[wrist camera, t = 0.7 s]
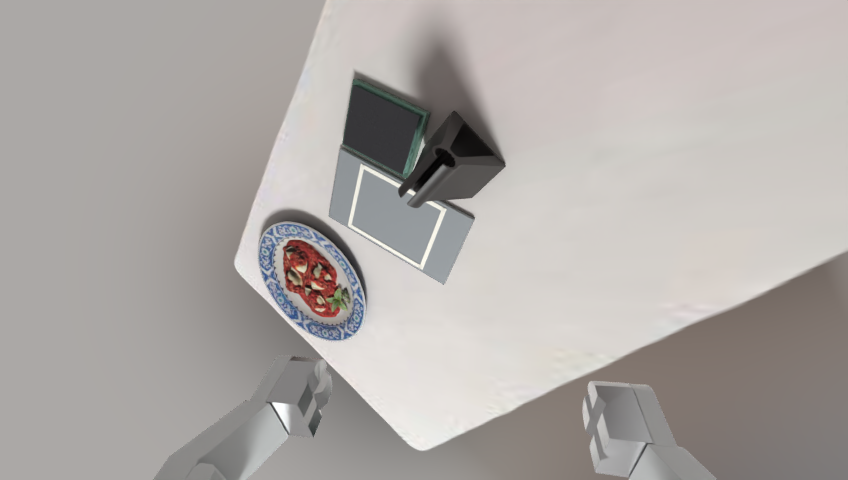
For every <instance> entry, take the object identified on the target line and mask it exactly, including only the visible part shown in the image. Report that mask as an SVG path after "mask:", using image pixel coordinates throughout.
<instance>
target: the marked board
mask: <svg viewBox="0 0 848 480" xmlns="http://www.w3.org/2000/svg"><path fill="white" fill-rule="evenodd" d="M403 182H404V181H403V180H402V179H400V178H398V177H396V176H394V175H392V174H390V173H388V172H387V171H385V170H383V169H381V168H379V167H377V166H375V165H373V164H371V163H370V162H368V161H366V160H364V159H362V158H360V157H358V156H356V155H355V154H353V153H351V152H349V151H347V150H345V149H343V148H342V149H340V153H339V159H338V165H337V171H336V177H335V183H334V188H333V194H332V200H331V206H330V212H329V217H331V218H332V219H334V220H336V221H337V222H339V223H341V224H342V225H344V226H346V227H347V228H349V229H351V230H352V231H354V232H356V233H357V234H359V235H361V236H363V237H364V238H366V239H368V240H369V241H371V242H373V243H374V244H376V245H378V246H379V247H381V248H383V249H384V250H386V251H388V252H389V253H391V254H393V255H394V256H396V257H398V258H400V259H401V260H403V261H405V262H406V263H408V264H410V265H411V266H413V267H415V268H416V269H418V270H420V271H421V272H423V273H425V274H426V275H428V276H430V277H431V278H433V279H435V280H437V281H438V282H440V283H442V284H443V285H444V284H445V282H446V280H447V278H448V276H449V274H450V272H451V269H452V267H453V265H454V263H455V261H456V259H457V256H458V254H459V252H460V250H461V248H462V246H463V243H464V241H465V239H466V237H467V235H468V233H469V230H470V228H471V226H472V224H473V222H474V219H475V218H473V217H471V216H469V215H467V214H466V213H464V212H462V211H460V210H458V209H456V208H454V207H452V206H451V205H449V204H447V203H445V202H443V201H441V200H440V201H428V202H425V203H423V204H422V206H421V207H419V208H413V207H410V206H408V205H407V203H408V201H409V200H410V199H411V198H412V197H413V196H414V195H415V194H416V193H417V192H414V190H413V189H409V190H408V191H407V193H406V194H405V195H404V196H403V197H402V198H400V196H399V193H398V189H399V187H400V186H401V185H402V183H403Z"/></svg>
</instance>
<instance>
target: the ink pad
mask: <svg viewBox="0 0 848 480" xmlns="http://www.w3.org/2000/svg"><path fill="white" fill-rule="evenodd" d="M429 115H430V112H428V111H426V110H424V109H421V108H419V107H417V106H415V105H413V104H411V103H409V102H407V101H404V100H402V99H400V98H398V97H396V96H394V95H392V94H389V93H387V92H385V91H383V90H381V89H379V88H377V87H375V86H372V85H370V84H368V83H366V82H364V81H362V80H360V79H354V80H353V85H352V91H351V97H350V103H349V109H348V114H347V120H346V126H345V132H344V138H343V143H342V145H344V146H346V147H348V148H350V149H352V150H353V151H355V152H357V153H359V154H361V155H363V156H365V157H367V158H369V159H370V160H372V161H374V162H376V163H378V164H380V165H382V166H384V167H386V168H387V169H389V170H391V171H393V172H395V173H397V174H399V175H401V176H403V177H404V178H406V179H407V178H408V176H409V175H410V174H411V173H412V170H413V167H414V164H415V160H416V157H417V154H418V151H419V147H420V144H421V141H422V138H423V134H424V131H425V128H426V125H427V121H428V118H429Z"/></svg>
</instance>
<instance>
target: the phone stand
mask: <svg viewBox="0 0 848 480" xmlns="http://www.w3.org/2000/svg"><path fill="white" fill-rule="evenodd" d="M504 167H505V164H504V163H503V162H502V161H501V160H500V159H499V157H498V156H497V155H496V154H495V153H494V152H493V151H492V150H491V149H490V148H489V147H488V146H487V145H486V144H485V143H484V141H483V140H482V139H480V138H479V136H478V135H477V134H476V133H475V132H474V131H473V130H472V129H471V128H470V127H469V125H468V124H467V123H466V122H465V121H464V120H463V119H462V118H461V117H460V116H459V115H458V114H457V113H456V112H455V111H453V112H452V113H451V115H450V116H449V117H448V118H447V120H446V121H445V122H444V123H443V124H442V126H441V127H440V128H439V129H438V131H437V132H436V133H435V134H434V135H433V137H432V138H431V139H430V140H429V142H428V143H427V144H426V145H425V146H424V148H423V150H422V153H421V155H420V157H419V160H418V162H417V164H416V166H415V169H414V170H413V172H412V173H411V174H410V175H409V176H408V178H407V179H406V180H405V181H404V182H403V183H402V185H401V186H400V187H399V189H398V193H399V196H400V198H402V197H403V196H404V195H405V194H406V193H407V191H408V190H409V189H413V190H414V192H417V193H416V194H415V195H414V196H413V197H412V198H411V199H410V200H409V201H408V203H407V205H408V206H410V207H413V208H419V207H421V206H422V204H423V203H425V202H428V201H440V200H452V199H465V198H472V197H473V196H474V195H475V194H477V193H478V192H479V191H480V190H481V189H482V188H483V187H484V186H485V185H486V184H487V183H488V182H489V181H490V180H492V179H493V178H494V177H495V176H496V175H497V174H498V173H499V172H500V171H501V170H502V169H503V168H504Z"/></svg>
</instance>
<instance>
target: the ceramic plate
mask: <svg viewBox="0 0 848 480" xmlns="http://www.w3.org/2000/svg"><path fill="white" fill-rule="evenodd" d="M258 262H259V268H260V272H261V275H262V278H263V281H264V283H265V285H266V287H267V289H268V291H269V293H270V295H271V297H272V298H273V300H274V301H275V302H276V304H277V305H278V307H279V308H280V309H281V310H282V311H283V312H284V314H285V315H286V316H287V317H288V318H289V319H290V320H291V321H293V322H294V323H295V324H296V325H297V326H298V327H300V328H301V329H303V330H304V331H306V332H307V333H309V334H311V335H313V336H315V337H317V338H319V339H323V340H326V341H331V342H342V341H346V340H349V339H351V338H353V337H354V336H355V335H357V334H358V332H359V331H360V330H361V328H362V326H363V324H364V321H365V316H366V302H365V296H364V292H363V288H362V286H361V283H360V280H359V278H358V276H357V274H356V272H355V270H354V269H353V267H352V265H351V264H350V262H349V261H348V259H347V258H346V257H345V256H344V254H343V253H342V252H341V251H340V250H339V249H338V248H337V247H336V245H335V244H334V243H332V242H331V241H330V240H329V239H328V238H327V237H325V236H324V235H323V234H321V233H320V232H318V231H316V230H315V229H313V228H311V227H309V226H306V225H304V224H301V223H297V222H290V221H285V222H279V223H276V224H273V225H271V226H270V227H269V228H267V229H266V230H265V232H264V233H263V234H262V236H261V239H260V242H259V246H258Z"/></svg>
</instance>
